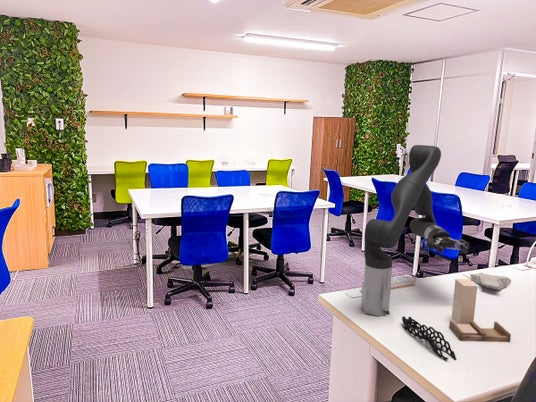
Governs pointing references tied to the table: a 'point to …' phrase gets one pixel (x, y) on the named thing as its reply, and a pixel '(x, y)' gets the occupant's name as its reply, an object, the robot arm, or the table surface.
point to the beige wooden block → (464, 301)
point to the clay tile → (466, 329)
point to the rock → (491, 280)
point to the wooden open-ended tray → (482, 333)
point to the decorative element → (428, 336)
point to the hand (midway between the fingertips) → (454, 250)
